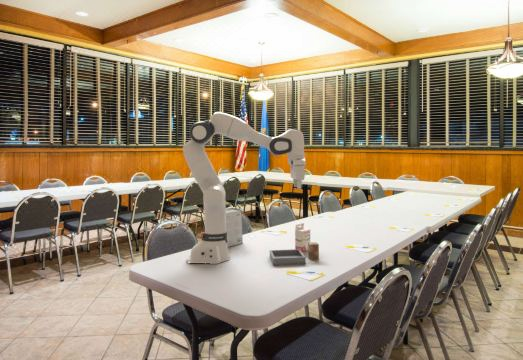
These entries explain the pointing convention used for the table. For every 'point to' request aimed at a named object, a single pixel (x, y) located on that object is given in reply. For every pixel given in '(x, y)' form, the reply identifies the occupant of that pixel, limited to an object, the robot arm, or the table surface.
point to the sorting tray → (287, 257)
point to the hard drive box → (234, 227)
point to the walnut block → (313, 251)
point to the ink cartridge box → (302, 237)
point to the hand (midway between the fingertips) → (297, 187)
